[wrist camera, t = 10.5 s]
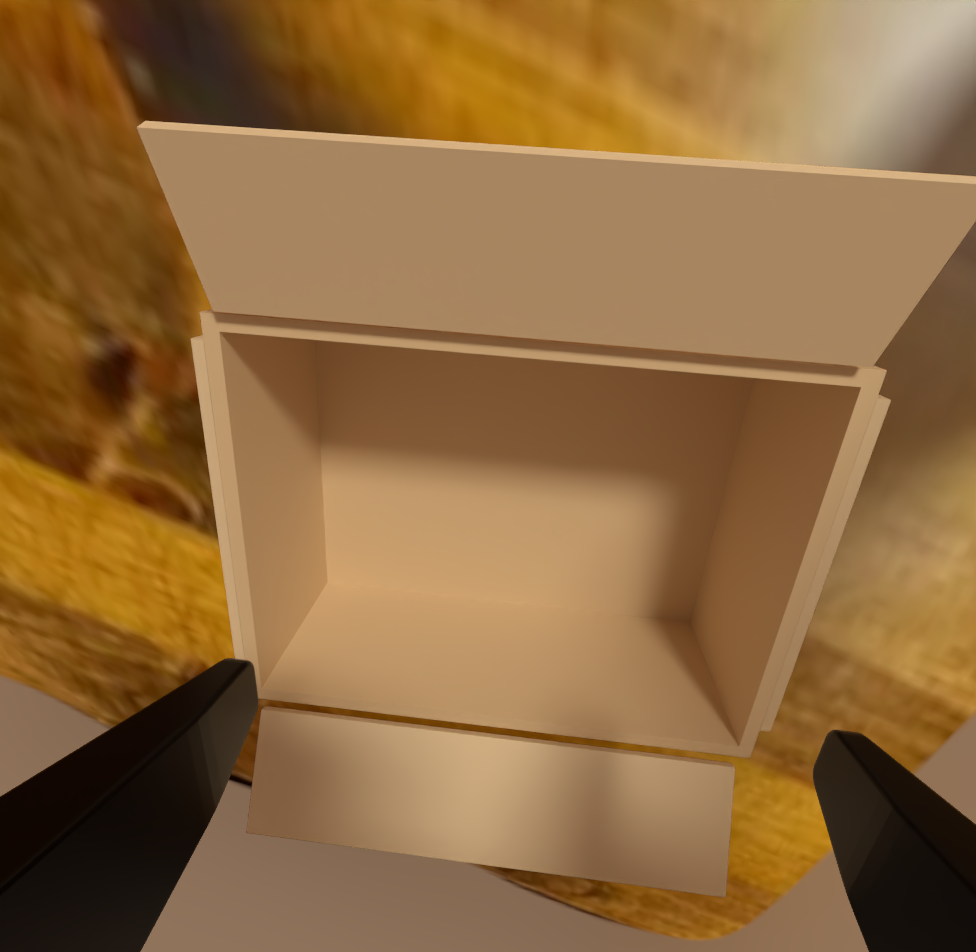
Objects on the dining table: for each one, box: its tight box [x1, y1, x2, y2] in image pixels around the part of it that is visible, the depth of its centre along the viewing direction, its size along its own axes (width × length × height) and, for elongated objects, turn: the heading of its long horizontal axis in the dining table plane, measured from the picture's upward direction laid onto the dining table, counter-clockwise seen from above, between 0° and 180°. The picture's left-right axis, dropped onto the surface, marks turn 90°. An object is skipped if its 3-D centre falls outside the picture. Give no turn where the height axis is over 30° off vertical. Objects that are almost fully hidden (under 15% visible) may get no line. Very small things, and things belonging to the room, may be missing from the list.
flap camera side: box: [246, 706, 735, 897], centre depth 16 cm, size 14×4×1 cm, turn 86°
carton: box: [191, 310, 891, 758], centre depth 17 cm, size 16×12×6 cm
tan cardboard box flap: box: [137, 121, 976, 367], centre depth 11 cm, size 14×4×1 cm, turn 86°
